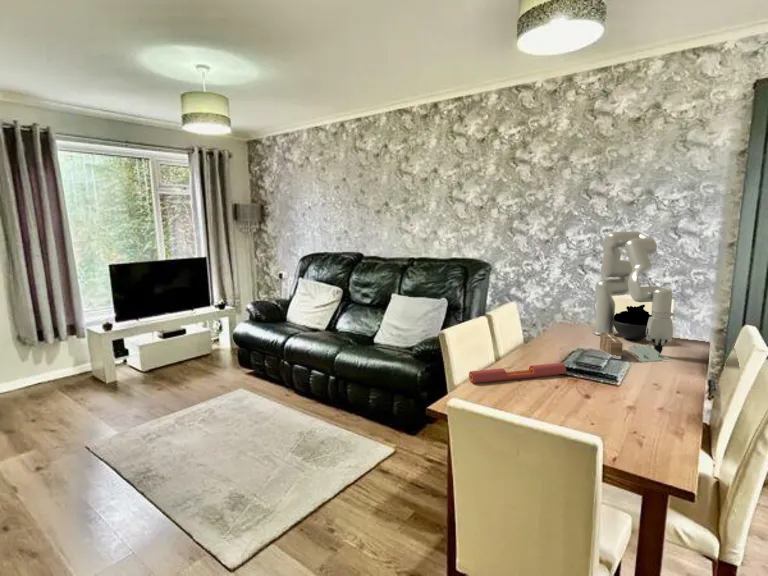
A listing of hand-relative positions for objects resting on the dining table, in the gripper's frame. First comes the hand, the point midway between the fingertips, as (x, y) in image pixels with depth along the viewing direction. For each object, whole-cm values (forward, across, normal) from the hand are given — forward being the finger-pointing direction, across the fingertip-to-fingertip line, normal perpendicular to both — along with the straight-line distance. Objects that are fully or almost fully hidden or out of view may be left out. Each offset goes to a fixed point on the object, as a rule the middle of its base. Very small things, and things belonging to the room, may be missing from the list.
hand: (657, 352), depth 200 cm
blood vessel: (+2, +67, +41) cm, 79 cm away
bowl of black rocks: (+2, +2, -30) cm, 30 cm away
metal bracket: (+2, +6, +3) cm, 7 cm away
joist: (+2, +21, 0) cm, 21 cm away
